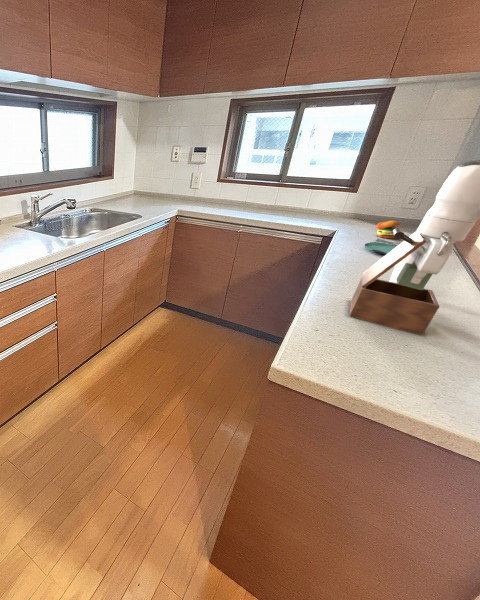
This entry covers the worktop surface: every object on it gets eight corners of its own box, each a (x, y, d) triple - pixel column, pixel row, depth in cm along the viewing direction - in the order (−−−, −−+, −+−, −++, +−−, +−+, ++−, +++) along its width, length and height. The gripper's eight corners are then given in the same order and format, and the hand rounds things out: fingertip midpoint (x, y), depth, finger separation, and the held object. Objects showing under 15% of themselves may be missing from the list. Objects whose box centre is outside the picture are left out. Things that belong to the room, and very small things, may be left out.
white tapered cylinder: (403, 290, 111) (426, 249, 104) (412, 298, 106) (436, 255, 99) (379, 287, 114) (399, 246, 107) (386, 294, 108) (408, 251, 101)
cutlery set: (358, 251, 150) (360, 247, 149) (371, 240, 168) (373, 236, 167) (416, 263, 137) (419, 258, 136) (423, 250, 155) (426, 245, 154)
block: (419, 284, 89) (430, 267, 87) (422, 290, 85) (433, 273, 83) (396, 279, 92) (405, 262, 89) (397, 284, 88) (407, 267, 86)
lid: (420, 231, 88) (401, 220, 90) (426, 241, 79) (405, 228, 81) (364, 275, 99) (347, 264, 100) (364, 288, 90) (346, 276, 91)
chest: (416, 317, 95) (432, 290, 91) (422, 335, 86) (439, 306, 82) (350, 301, 103) (362, 275, 99) (349, 316, 94) (362, 288, 90)
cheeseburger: (395, 240, 168) (398, 221, 165) (370, 240, 177) (372, 221, 175) (404, 238, 172) (407, 219, 170) (379, 238, 181) (381, 219, 179)
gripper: (470, 240, 72) (434, 295, 79) (452, 225, 87) (422, 272, 93) (432, 234, 75) (400, 287, 82) (420, 220, 90) (394, 266, 96)
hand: (412, 279), depth 88 cm, fingers closed on block, 5 cm apart
